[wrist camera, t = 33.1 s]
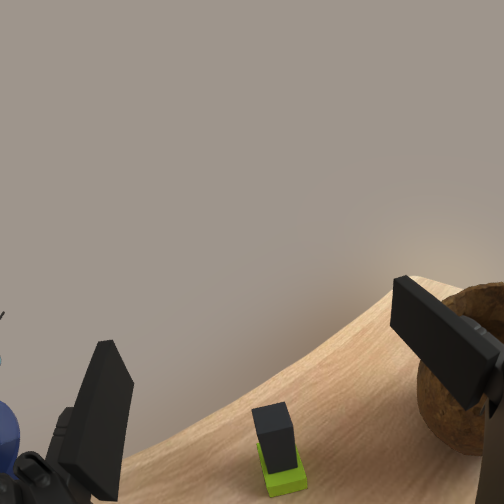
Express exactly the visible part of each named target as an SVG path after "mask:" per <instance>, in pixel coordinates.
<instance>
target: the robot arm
mask: <svg viewBox="0 0 504 504" xmlns="http://www.w3.org/2000/svg"><path fill="white" fill-rule="evenodd" d="M4 313H5V312H2V314H1V315H0V319H1V318H2V316H3V315H4ZM390 327H391V328H392V329H393V330H394V331H395V332H396V333H397V334H398V335H399V336H400V337H401V338H402V340H403V341H404V342H405V343H406V344H407V345H408V346H409V347H410V348H411V349H412V350H413V352H414V353H415V354H416V355H417V356H418V357H419V358H420V359H421V361H422V362H423V363H424V364H425V365H426V366H427V367H428V368H429V370H430V371H431V372H432V373H433V374H434V375H435V376H436V377H437V379H438V380H439V381H440V382H441V383H442V384H443V386H444V387H445V388H446V389H447V390H448V391H449V392H450V394H451V395H452V396H453V397H454V398H455V400H456V401H457V402H458V403H459V404H460V405H461V407H462V408H463V409H464V410H465V411H467V410H469V409H470V408H472V407H473V406H475V405H476V404H478V403H479V401H480V399H481V397H482V395H483V393H484V394H485V395H486V396H487V399H486V401H485V403H484V405H483V407H482V409H481V411H480V414H479V415H480V416H482V414H483V412H484V410H485V429H484V443H483V454H482V463H481V471H480V478H479V484H478V490H477V496H476V501H475V504H504V344H502V343H501V342H500V341H499V340H498V339H497V338H495V337H494V336H493V335H492V334H491V333H489V332H487V330H486V329H485V328H483V327H481V325H480V324H478V323H477V322H476V321H475V320H473V319H471V318H469V317H467V316H464V315H462V316H460V317H459V316H458V315H457V314H456V313H454V312H453V311H452V310H451V309H449V308H448V307H447V306H446V305H444V304H443V303H442V302H441V301H439V300H438V299H437V298H435V297H434V296H433V295H432V294H430V293H429V292H428V291H426V290H425V289H424V288H423V287H421V286H420V285H419V284H417V283H416V282H415V281H413V280H412V279H411V278H409V277H408V276H407V275H405V276H402V277H398V278H395V279H394V281H393V297H392V309H391V320H390ZM0 365H1V357H0ZM133 388H134V382H133V380H132V378H131V376H130V374H129V373H128V371H127V369H126V367H125V364H124V362H123V360H122V358H121V356H120V354H119V352H118V350H117V348H116V346H115V343H114V341H113V340H107V341H100V342H98V343H97V346H96V349H95V351H94V353H93V356H92V358H91V361H90V364H89V366H88V369H87V371H86V374H85V377H84V379H83V382H82V385H81V388H80V390H79V393H78V396H77V399H76V402H75V405H74V407H66V408H65V410H64V411H63V412H62V414H61V415H60V416H59V418H58V422H57V424H56V428H55V430H54V433H53V435H54V436H53V437H52V439H51V442H50V446H49V448H48V452H47V455H46V458H45V460H44V459H43V458H42V457H41V456H40V455H39V454H38V453H36V452H34V451H28V452H25V453H22V454H21V455H20V456H19V457H18V458H17V459H16V461H15V463H14V467H13V470H14V474H15V475H16V476H17V477H18V478H19V480H13V479H12V478H11V477H10V476H9V475H8V474H5V473H0V504H93V503H92V502H91V501H90V500H91V494H92V495H93V496H95V497H96V498H97V499H98V500H101V501H115V502H117V501H118V490H119V481H120V472H121V464H122V455H123V448H124V441H125V435H126V428H127V422H128V416H129V410H130V404H131V398H132V393H133Z"/></svg>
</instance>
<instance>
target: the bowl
mask: <svg viewBox="0 0 504 504" xmlns="http://www.w3.org/2000/svg"><path fill="white" fill-rule="evenodd" d="M442 303H443V304H444V305H446V306H447V307H448V308H449V309H451V310H452V311H453V312H454V313H456V314H457V315H458V316H459V317H460V316H462V315H464V316H467V317H469V318H471V319H473V320H475V321H476V322H477V323H478V324H480V325H481V327H483V328H485V329H486V330H487V332H489V333H491V334H492V335H493V336H494V337H495V338H497V339H498V340H499V341H500V342H501V343H502V344H504V283H503V282H499V283H488V284H480V285H477V286H471V287H468V288H466V289H464V290H463V291H461V292H459V293H457V294H456V295H452V296H449V297H447V298H446V299H444V300H442ZM486 399H487V396H486V395H485V394H484V393H483V395H482V397H481V399H480V401H479V403H478V404H476V405H475V406H473V407H472V408H470V409H469V410H467V411H465V410H464V409H463V408H462V407H461V405H460V404H459V403H458V402H457V401H456V400H455V398H454V397H453V396H452V395H451V394H450V392H449V391H448V390H447V389H446V388H445V387H444V386H443V384H442V383H441V382H440V381H439V380H438V379H437V377H436V376H435V375H434V374H433V373H432V372H431V371H430V370H429V368H428V367H427V366H426V365H425V364H424V363H423V362H422V361H421V360H420V363H419V368H418V374H417V400H418V406H419V410H420V414H421V416H422V417H423V419H424V421H425V422H426V424H427V425H428V427H429V428H430V429H431V430H432V431H433V432H434V434H435V435H436V436H437V437H438V438H440V439H441V440H442V441H443V442H444V443H445V444H447V445H448V446H449V447H451V448H452V449H454V450H456V451H458V452H460V453H462V454H465V455H474V456H482V454H483V443H484V429H485V410H484V412H483V414H482V416H480V415H479V414H480V411H481V409H482V407H483V405H484V403H485V401H486Z"/></svg>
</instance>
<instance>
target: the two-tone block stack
mask: <svg viewBox="0 0 504 504" xmlns="http://www.w3.org/2000/svg"><path fill="white" fill-rule="evenodd" d="M252 415H253V419H254V424H255V428H256V433H257V436H258V440H259V443H257V449H258V453H259V458H260V462H261V466H262V471H263V475H264V479H265V483H266V487H267V490H268V493H269V496H270V497H275V496H279V495H284V494H288V493H292V492H296V491H300V490H304V489H307V477H306V474H305V471H304V468H303V465H302V462H301V459H300V456H299V453H298V450H297V447H296V444H295V438H294V429H293V424H292V421H291V418H290V415H289V412H288V410H287V407H286V404H285V402H281V403H277V404H272V405H268V406H264V407H259V408H255V409H252Z"/></svg>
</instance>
